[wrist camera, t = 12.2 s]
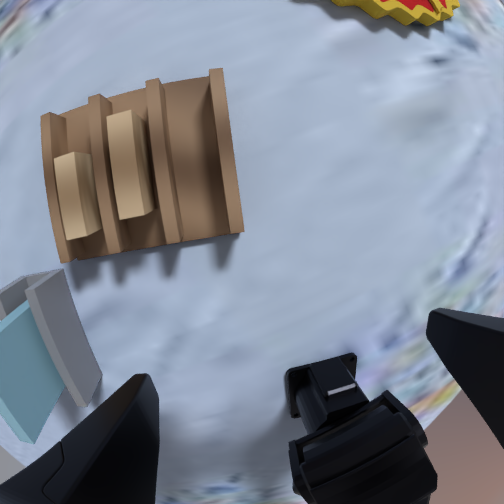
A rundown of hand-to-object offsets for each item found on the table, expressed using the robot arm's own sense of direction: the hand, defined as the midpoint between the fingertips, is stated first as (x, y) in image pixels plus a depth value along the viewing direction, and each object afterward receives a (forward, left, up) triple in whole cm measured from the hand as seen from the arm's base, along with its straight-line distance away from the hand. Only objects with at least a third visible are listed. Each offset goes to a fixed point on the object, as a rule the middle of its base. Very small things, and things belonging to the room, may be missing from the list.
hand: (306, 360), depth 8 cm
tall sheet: (-4, +17, -12) cm, 21 cm away
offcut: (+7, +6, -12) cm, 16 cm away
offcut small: (+6, +10, -12) cm, 17 cm away
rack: (+7, +6, -13) cm, 16 cm away
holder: (-4, +17, -13) cm, 22 cm away
